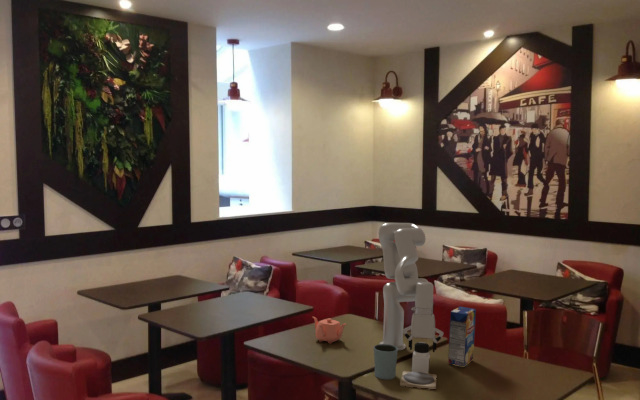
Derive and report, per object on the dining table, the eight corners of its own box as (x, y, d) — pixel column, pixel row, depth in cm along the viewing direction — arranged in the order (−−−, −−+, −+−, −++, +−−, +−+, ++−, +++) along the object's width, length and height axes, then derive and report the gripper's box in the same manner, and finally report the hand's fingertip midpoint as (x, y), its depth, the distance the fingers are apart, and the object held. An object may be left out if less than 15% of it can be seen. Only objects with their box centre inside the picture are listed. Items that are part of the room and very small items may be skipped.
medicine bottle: (428, 374, 249) (430, 346, 248) (411, 372, 250) (413, 345, 250) (429, 368, 256) (430, 341, 255) (412, 366, 257) (413, 340, 257)
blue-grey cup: (390, 382, 239) (391, 353, 238) (368, 376, 244) (369, 348, 244) (400, 374, 248) (401, 346, 247) (379, 369, 253) (380, 342, 252)
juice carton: (457, 357, 272) (460, 306, 270) (473, 360, 268) (476, 309, 266) (447, 364, 262) (450, 311, 260) (464, 368, 258) (467, 314, 256)
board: (403, 373, 249) (403, 368, 249) (436, 377, 246) (436, 372, 246) (399, 385, 235) (400, 381, 235) (435, 390, 232) (435, 385, 232)
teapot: (346, 344, 285) (347, 322, 284) (317, 345, 282) (318, 323, 281) (338, 335, 299) (339, 314, 298) (311, 336, 296) (312, 315, 295)
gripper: (402, 311, 249) (401, 350, 250) (444, 314, 245) (442, 354, 246) (404, 307, 257) (402, 345, 257) (444, 310, 253) (443, 349, 254)
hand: (422, 350), depth 252 cm, fingers open, 9 cm apart
